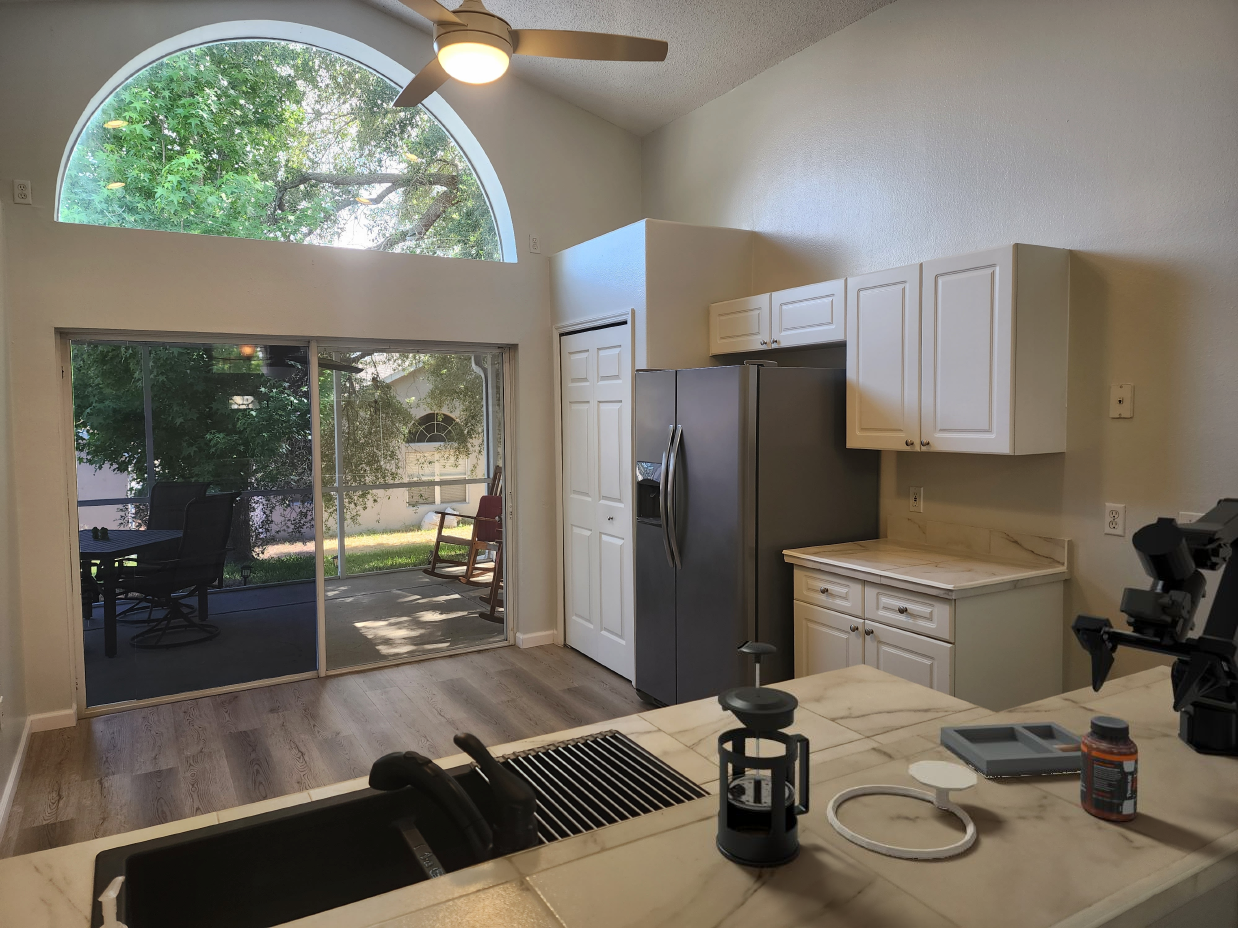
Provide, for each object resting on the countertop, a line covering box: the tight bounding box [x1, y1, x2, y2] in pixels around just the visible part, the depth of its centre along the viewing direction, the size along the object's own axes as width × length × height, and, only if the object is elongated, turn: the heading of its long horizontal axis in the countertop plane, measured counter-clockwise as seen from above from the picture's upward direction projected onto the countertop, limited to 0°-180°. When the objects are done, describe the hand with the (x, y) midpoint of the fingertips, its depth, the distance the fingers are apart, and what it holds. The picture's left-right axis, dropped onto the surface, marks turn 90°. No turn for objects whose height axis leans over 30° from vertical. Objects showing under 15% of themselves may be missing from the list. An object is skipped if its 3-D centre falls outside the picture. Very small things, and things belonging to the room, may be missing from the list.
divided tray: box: [939, 721, 1082, 777], centre depth 113 cm, size 18×12×2 cm, turn 96°
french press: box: [715, 642, 811, 868], centre depth 89 cm, size 12×9×23 cm
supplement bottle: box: [1079, 715, 1139, 822], centre depth 97 cm, size 6×6×11 cm
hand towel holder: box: [826, 760, 978, 860], centre depth 95 cm, size 17×4×21 cm
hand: (1133, 699), depth 100 cm, fingers open, 9 cm apart
